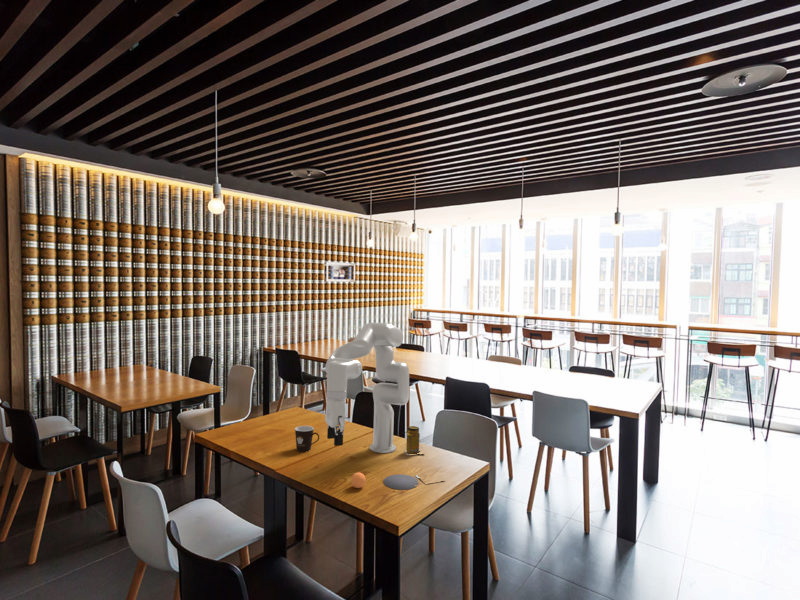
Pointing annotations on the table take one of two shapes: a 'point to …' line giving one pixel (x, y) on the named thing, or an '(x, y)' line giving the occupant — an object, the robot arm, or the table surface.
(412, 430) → the condiment
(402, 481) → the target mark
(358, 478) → the ball
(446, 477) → the table surface
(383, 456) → the table surface
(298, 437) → the coffee mug
